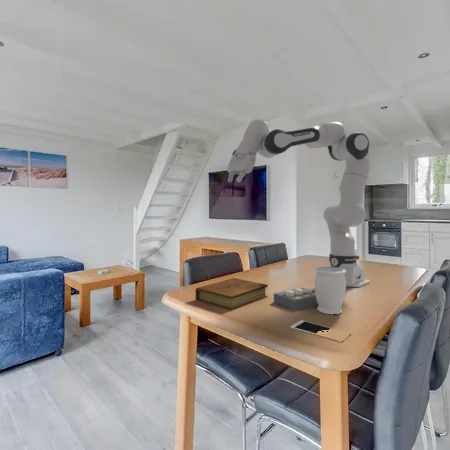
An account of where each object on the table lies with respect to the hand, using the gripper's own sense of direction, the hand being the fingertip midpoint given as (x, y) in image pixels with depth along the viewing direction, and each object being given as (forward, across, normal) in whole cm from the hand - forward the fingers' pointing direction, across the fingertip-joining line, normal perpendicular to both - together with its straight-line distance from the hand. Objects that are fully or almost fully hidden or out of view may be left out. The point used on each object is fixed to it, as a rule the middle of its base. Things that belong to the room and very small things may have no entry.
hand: (233, 181), depth 136 cm
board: (+36, -33, -32) cm, 58 cm away
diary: (+46, -18, -13) cm, 51 cm away
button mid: (+34, -33, -32) cm, 57 cm away
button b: (+32, -32, -36) cm, 58 cm away
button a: (+36, -34, -27) cm, 56 cm away
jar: (+33, -45, -36) cm, 66 cm away
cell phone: (+39, -58, -22) cm, 73 cm away
